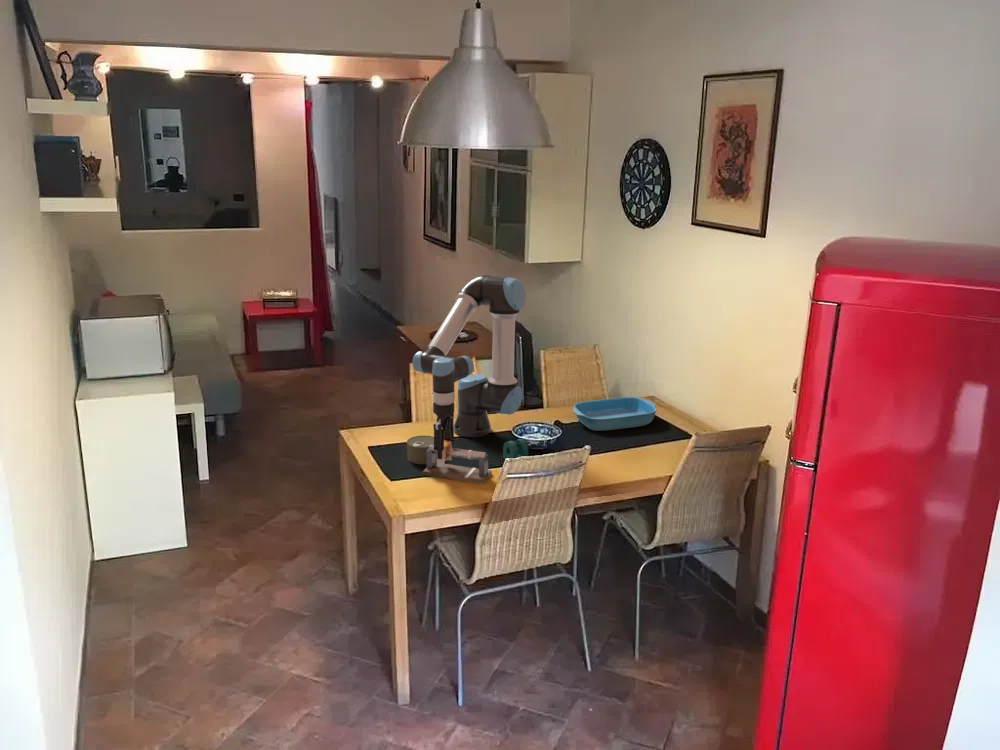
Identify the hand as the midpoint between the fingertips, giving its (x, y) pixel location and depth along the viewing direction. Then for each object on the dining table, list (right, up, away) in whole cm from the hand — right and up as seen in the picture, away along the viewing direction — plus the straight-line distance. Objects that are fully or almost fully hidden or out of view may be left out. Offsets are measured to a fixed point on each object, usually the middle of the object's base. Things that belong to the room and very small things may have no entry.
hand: (444, 462), depth 298 cm
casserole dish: (+68, +11, +54) cm, 88 cm away
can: (-9, 0, +14) cm, 17 cm away
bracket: (+29, -2, +9) cm, 30 cm away
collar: (0, +2, -1) cm, 2 cm away
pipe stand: (+5, -4, 0) cm, 6 cm away
